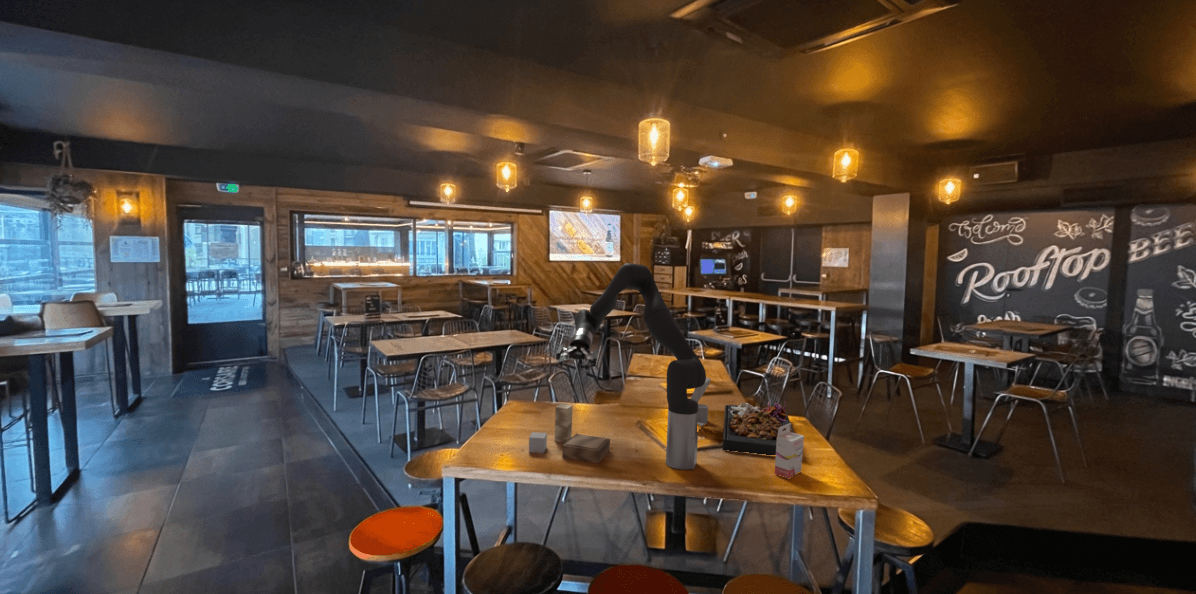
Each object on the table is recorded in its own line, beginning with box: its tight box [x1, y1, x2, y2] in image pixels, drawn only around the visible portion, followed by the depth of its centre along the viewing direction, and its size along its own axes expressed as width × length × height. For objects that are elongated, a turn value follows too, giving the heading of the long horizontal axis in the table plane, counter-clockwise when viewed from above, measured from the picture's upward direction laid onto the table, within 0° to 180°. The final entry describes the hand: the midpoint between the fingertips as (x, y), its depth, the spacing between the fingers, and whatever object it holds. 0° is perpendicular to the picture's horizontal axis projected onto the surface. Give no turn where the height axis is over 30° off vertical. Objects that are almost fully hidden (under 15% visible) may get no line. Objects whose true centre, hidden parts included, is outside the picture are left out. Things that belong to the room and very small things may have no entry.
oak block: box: [554, 403, 573, 444], centre depth 180 cm, size 4×4×12 cm
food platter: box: [722, 400, 795, 455], centre depth 194 cm, size 45×25×10 cm, turn 165°
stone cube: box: [528, 431, 548, 454], centre depth 170 cm, size 5×5×5 cm
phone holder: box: [690, 377, 711, 428], centre depth 202 cm, size 17×10×18 cm, turn 153°
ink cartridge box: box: [774, 422, 805, 479], centre depth 157 cm, size 9×5×15 cm, turn 134°
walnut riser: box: [561, 433, 611, 464], centre depth 168 cm, size 12×12×4 cm
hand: (573, 366), depth 176 cm, fingers open, 8 cm apart
